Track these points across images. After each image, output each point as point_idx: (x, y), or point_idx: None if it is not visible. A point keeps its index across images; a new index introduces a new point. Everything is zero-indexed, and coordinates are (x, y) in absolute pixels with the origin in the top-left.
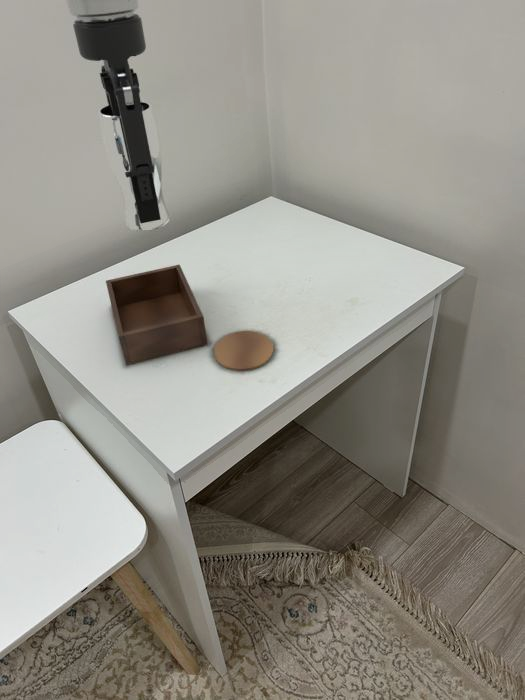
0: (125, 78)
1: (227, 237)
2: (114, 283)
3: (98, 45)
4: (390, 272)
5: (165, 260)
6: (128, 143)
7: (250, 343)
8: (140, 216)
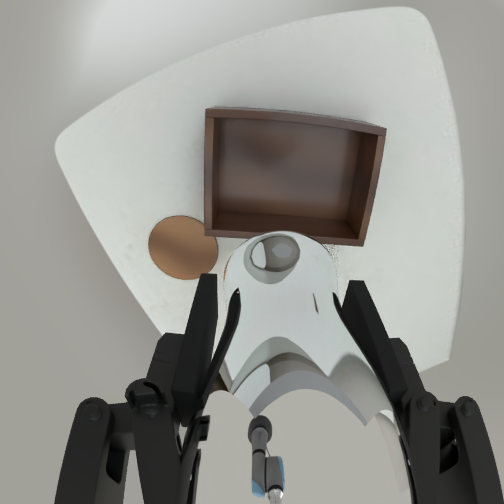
0: None
1: (422, 306)
2: (375, 139)
3: None
4: None
5: (432, 226)
6: (56, 498)
7: (189, 260)
8: (198, 288)
